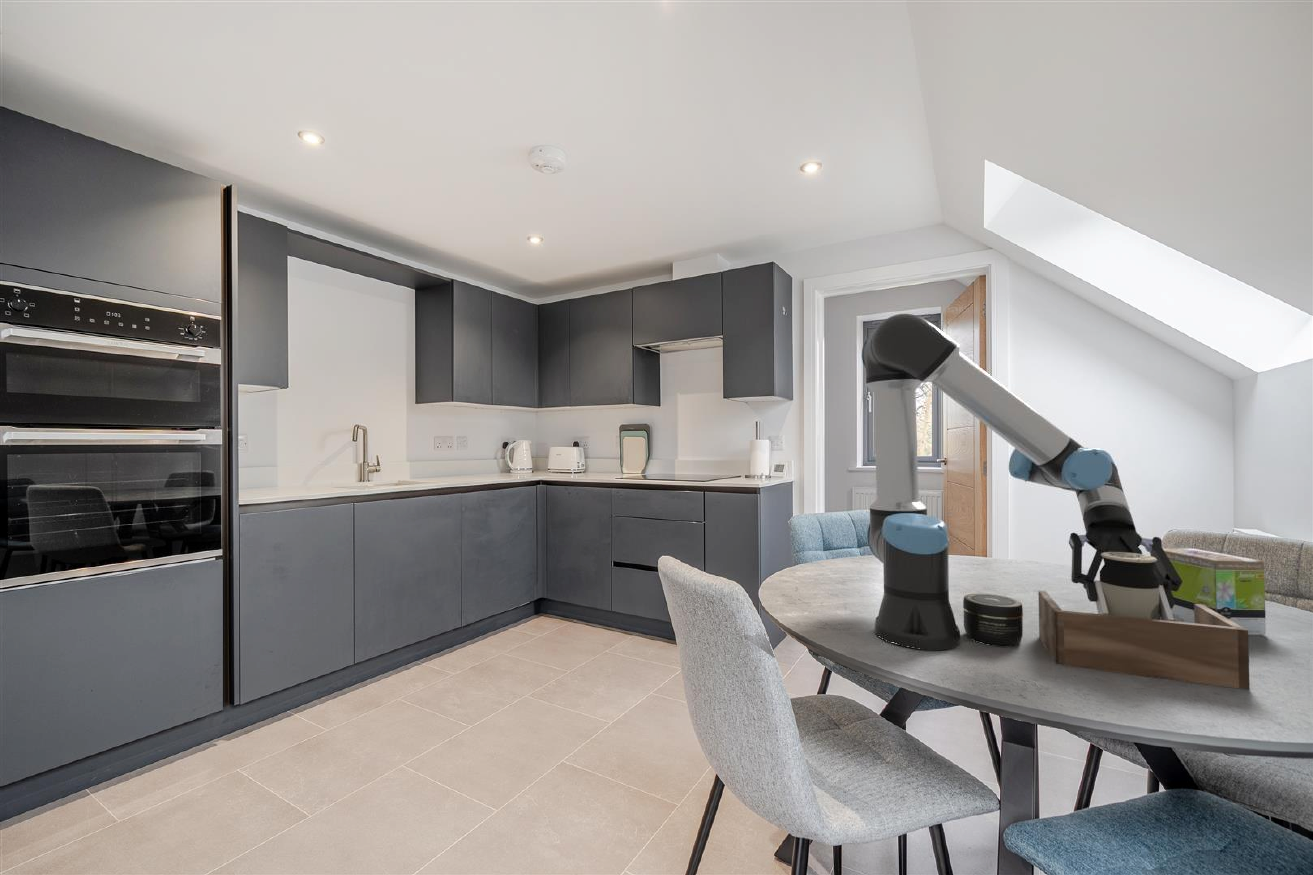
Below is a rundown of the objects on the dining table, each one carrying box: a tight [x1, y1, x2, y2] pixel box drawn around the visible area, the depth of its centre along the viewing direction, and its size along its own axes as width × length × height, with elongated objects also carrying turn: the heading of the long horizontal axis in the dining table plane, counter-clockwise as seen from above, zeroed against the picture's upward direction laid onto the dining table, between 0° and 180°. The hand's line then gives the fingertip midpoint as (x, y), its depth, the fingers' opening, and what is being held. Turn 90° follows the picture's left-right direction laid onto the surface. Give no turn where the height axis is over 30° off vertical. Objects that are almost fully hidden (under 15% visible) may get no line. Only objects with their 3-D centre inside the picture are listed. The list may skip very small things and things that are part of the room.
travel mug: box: [1099, 552, 1161, 620], centre depth 98 cm, size 8×8×18 cm
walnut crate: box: [1037, 590, 1251, 691], centre depth 98 cm, size 15×24×9 cm, turn 65°
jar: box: [962, 593, 1024, 647], centre depth 109 cm, size 10×10×8 cm
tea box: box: [1154, 547, 1267, 636], centre depth 117 cm, size 15×10×15 cm
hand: (1136, 620), depth 95 cm, fingers closed on travel mug, 8 cm apart
